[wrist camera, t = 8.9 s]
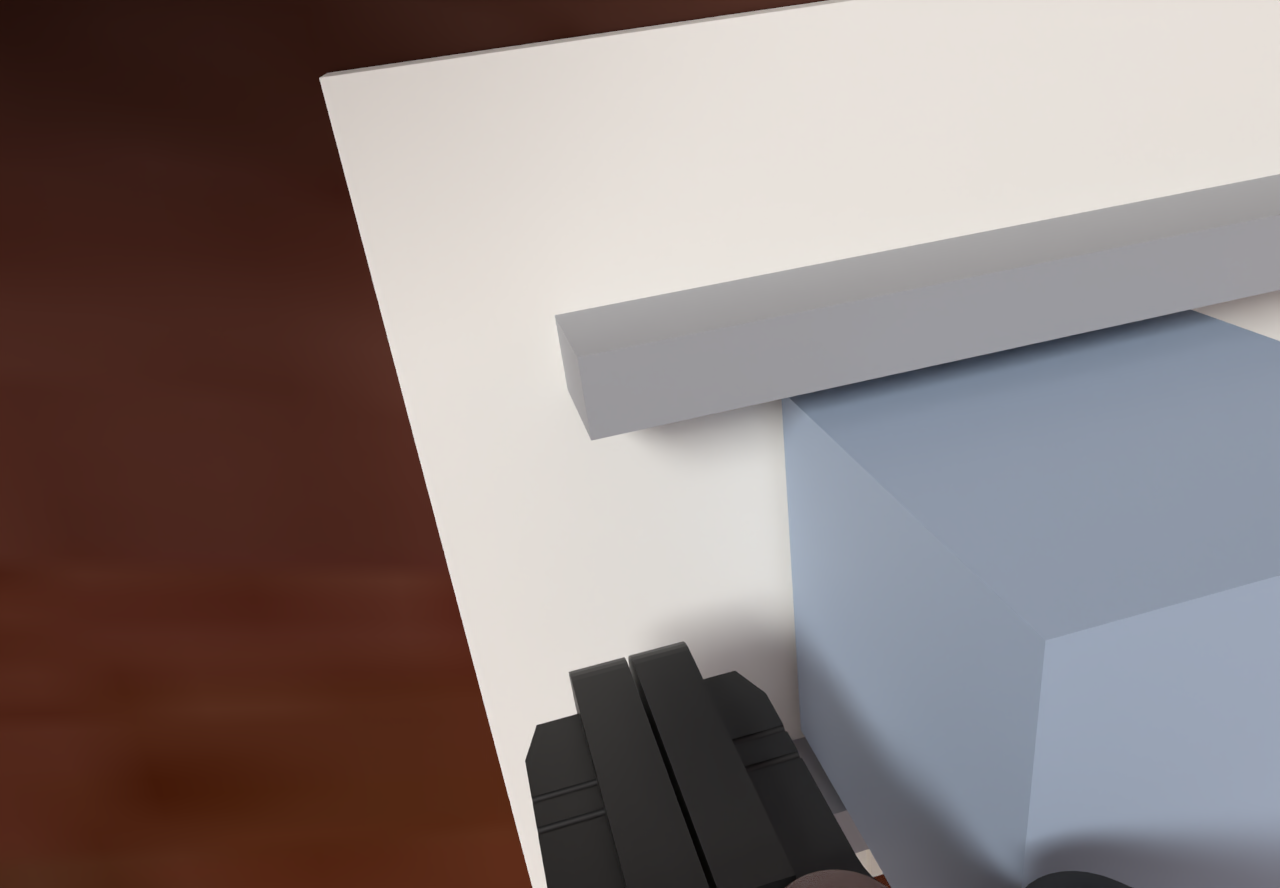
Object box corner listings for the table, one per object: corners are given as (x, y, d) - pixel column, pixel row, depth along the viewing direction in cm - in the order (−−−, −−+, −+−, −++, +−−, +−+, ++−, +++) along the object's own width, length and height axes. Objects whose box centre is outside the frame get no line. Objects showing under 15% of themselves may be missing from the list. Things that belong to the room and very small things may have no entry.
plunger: (1463, 241, 14) (2052, 360, 9) (1319, 741, 18) (1655, 1001, 13) (780, 390, 12) (1045, 640, 7) (810, 901, 16) (984, 1269, 12)
